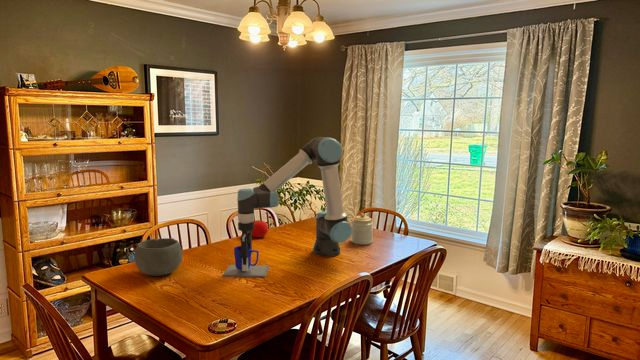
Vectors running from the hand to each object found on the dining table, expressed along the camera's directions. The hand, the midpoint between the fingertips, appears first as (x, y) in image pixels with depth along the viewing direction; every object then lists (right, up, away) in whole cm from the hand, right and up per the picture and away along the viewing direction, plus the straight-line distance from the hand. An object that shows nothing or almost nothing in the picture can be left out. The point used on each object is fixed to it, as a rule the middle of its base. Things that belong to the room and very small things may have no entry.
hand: (246, 267), depth 207 cm
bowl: (-41, -2, -3) cm, 41 cm away
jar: (+61, +5, +52) cm, 80 cm away
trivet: (0, -2, 0) cm, 2 cm away
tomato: (-3, +7, +61) cm, 61 cm away
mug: (0, 0, 0) cm, 1 cm away
